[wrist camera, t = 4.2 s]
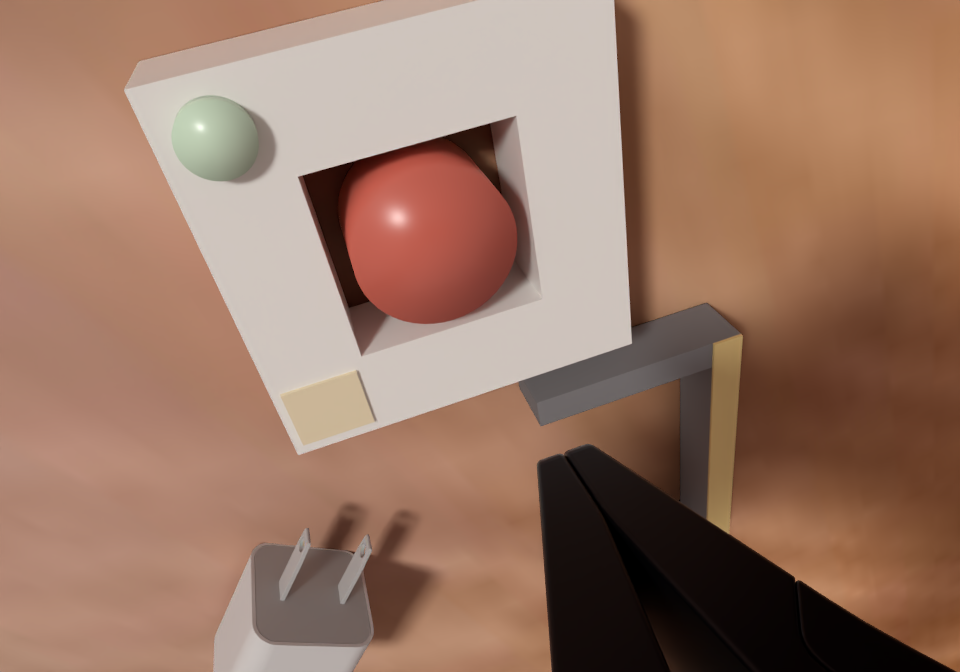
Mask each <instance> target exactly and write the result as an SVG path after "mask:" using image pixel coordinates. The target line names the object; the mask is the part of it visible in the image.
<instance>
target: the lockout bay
mask: <svg viewBox="0 0 960 672" xmlns="http://www.w3.org/2000/svg"><path fill="white" fill-rule="evenodd" d="M631 335H632V344H630V345H627V346H624V347H621V348H618V349H615V350H612V351H609V352H606V353H603V354H600V355H597V356H594V357H591V358H588V359H585V360H582V361H579V362H576V363H573V364H570V365H567V366H564V367H561V368H558V369H555V370H552V371H549V372H546V373H543V374H540V375H537V376H534V377H531V378H528V379H525V380H522V381H519V387H520V390H521V392H522V393H523V395H524V397H525V399H526V401H527V402H528V404H529V406H530V408H531V410H532V411H533V413H534V415H535V417H536V419H537V420H538V422H539V424H540V426H543V425H546V424H549V423H552V422H555V421H558V420H560V419H563V418H566V417H569V416H572V415H575V414H578V413H581V412H584V411H587V410H590V409H592V408H595V407H598V406H601V405H604V404H607V403H610V402H613V401H616V400H619V399H621V398H624V397H627V396H630V395H633V394H636V393H639V392H642V391H645V390H648V389H650V388H653V387H656V386H659V385H662V384H665V383H668V382H671V381H674V380H677V379H679V378H680V501H679V502H681V503H682V504H684V505H685V506H687V507H688V508H690V509H691V510H693V511H694V512H696V513H698V514H699V515H701V516H702V517H704V518H705V519H707V520H708V521H710V522H711V523H713V524H714V525H716V526H717V527H719V528H720V529H722V530H723V531H725V532H727V533H728V534H729V528H730V513H731V499H732V485H733V470H734V456H735V441H736V427H737V413H738V398H739V384H740V370H741V355H742V341H743V335H742V334H741V333H740V332H739V331H737V330H736V329H735V328H734V327H733V326H732V325H731V324H730V323H729V322H727V321H726V320H725V319H724V318H723V317H722V316H721V315H720V314H719V313H718V312H716V311H715V310H714V309H713V308H712V307H711V306H710V305H709V304H708V303H705V304H702V305H699V306H696V307H693V308H689V309H686V310H683V311H680V312H677V313H674V314H671V315H668V316H665V317H662V318H659V319H656V320H653V321H650V322H647V323H644V324H641V325H638V326H635V327H632V328H631Z"/></svg>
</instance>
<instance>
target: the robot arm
mask: <svg viewBox="0 0 960 672" xmlns="http://www.w3.org/2000/svg"><path fill="white" fill-rule="evenodd" d="M537 474H538V488H539V502H540V516H541V529H542V543H543V557H544V571H545V585H546V598H547V612H548V626H549V640H550V653H551V667H552V672H956V671H954V670H952V669H950V668H949V667H947V666H945V665H943V664H941V663H939V662H937V661H935V660H934V659H932V658H930V657H928V656H926V655H924V654H922V653H920V652H919V651H917V650H915V649H913V648H911V647H909V646H908V645H906V644H904V643H902V642H900V641H899V640H897V639H895V638H893V637H891V636H890V635H888V634H886V633H884V632H882V631H881V630H879V629H877V628H875V627H874V626H872V625H870V624H868V623H866V622H865V621H863V620H862V619H860V618H858V617H857V616H855V615H853V614H852V613H850V612H849V611H847V610H845V609H844V608H842V607H841V606H839V605H837V604H836V603H834V602H833V601H831V600H829V599H828V598H826V597H825V596H823V595H822V594H820V593H818V592H817V591H815V590H814V589H812V588H811V587H809V586H808V585H806V584H805V583H803V582H802V581H799V580H798V581H796V583H795V578H794V576H792V575H791V574H789V573H788V572H786V571H785V570H783V569H782V568H780V567H779V566H777V565H775V564H774V563H772V562H771V561H769V560H768V559H766V558H765V557H763V556H762V555H760V554H759V553H757V552H756V551H754V550H753V549H751V548H749V547H748V546H746V545H745V544H743V543H742V542H740V541H739V540H737V539H736V538H734V537H733V536H731V535H730V534H728V533H727V532H725V531H723V530H722V529H720V528H719V527H717V526H716V525H714V524H713V523H711V522H710V521H708V520H707V519H705V518H704V517H702V516H701V515H699V514H698V513H696V512H694V511H693V510H691V509H690V508H688V507H687V506H685V505H684V504H682V503H681V502H679V501H678V500H676V499H675V498H673V497H672V496H670V495H668V494H667V493H665V492H664V491H662V490H661V489H659V488H658V487H656V486H655V485H653V484H652V483H650V482H649V481H647V480H646V479H644V478H642V477H641V476H639V475H638V474H636V473H635V472H633V471H632V470H630V469H629V468H627V467H626V466H624V465H623V464H621V463H620V462H618V461H617V460H615V459H613V458H612V457H610V456H609V455H607V454H606V453H604V452H603V451H601V450H600V449H598V448H597V447H595V446H593V445H591V444H585V445H582V446H579V447H577V448H574V449H571V450H568V451H567V452H565V454H564V455H563V454H556V455H554V456H551V457H548V458H545V459H542V460H540V461H539V462H538V463H537Z"/></svg>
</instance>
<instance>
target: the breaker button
mask: <svg viewBox="0 0 960 672" xmlns="http://www.w3.org/2000/svg"><path fill="white" fill-rule="evenodd" d="M338 216H339V222H340V226H341V230H342V233H343V237H344V240H345V243H346V247H347V250H348V253H349V257H350V260H351V264H352V267H353V270H354V274H355V277H356V279H357V282H358V284H359V286H360V288H361V289H362V291H363V293H364V294H365V296H366V297H367V298H368V299H369V300H370V302H372V303H373V304H374V305H375V306H376V307H377V308H378V309H380V310H381V311H383V312H384V313H386V314H388V315H390V316H392V317H394V318H396V319H399V320H402V321H406V322H411V323H418V324H435V323H442V322H447V321H451V320H454V319H457V318H460V317H462V316H465V315H466V314H468V313H470V312H472V311H474V310H476V309H477V308H479V307H480V306H482V305H483V304H484V303H485V302H487V301H488V300H489V299H490V298H491V297H492V296H493V295H494V294H495V293H496V292H497V291H498V289H499V288H500V287H501V286H502V284H503V283H504V281H505V279H506V278H507V276H508V274H509V272H510V270H511V268H512V265H513V262H514V259H515V255H516V250H517V227H516V223H515V219H514V216H513V213H512V211H511V209H510V207H509V205H508V203H507V202H506V200H505V199H504V198H503V196H502V195H501V194H500V193H499V191H498V190H497V189H496V188H495V187H494V185H493V184H492V183H491V182H490V181H489V179H488V178H487V177H486V176H485V175H484V173H483V172H482V171H481V170H480V169H479V167H478V166H477V165H476V164H475V163H474V161H473V160H472V159H471V158H470V157H469V155H468V154H467V153H466V152H465V151H463V150H462V149H461V148H460V147H458V146H457V145H456V144H454V143H452V142H451V141H449V140H447V139H444V138H442V137H438V138H435V139H431V140H428V141H424V142H420V143H417V144H413V145H410V146H406V147H402V148H399V149H395V150H392V151H388V152H385V153H381V154H377V155H374V156H370V157H367V158H363V159H359V160H356V162H355V163H354V164H353V165H352V167H351V168H350V170H349V171H348V173H347V175H346V177H345V179H344V181H343V184H342V187H341V190H340V194H339V200H338Z"/></svg>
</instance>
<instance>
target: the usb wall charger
mask: <svg viewBox="0 0 960 672" xmlns="http://www.w3.org/2000/svg"><path fill="white" fill-rule="evenodd" d="M310 545H311V543H310V534H309V528H306V529H305V530H304V532H303V533H302V535H301V537H300V539H299V541H298V543H297V545H296V546H294V545H283V544H273V543H262V544H260V545H258V546H256V547H255V548H254V549H253V551H252V553H251V555H250V558H249V560H248V562H247V564H246V567H245V569H244V571H243V574H242V576H241V578H240V580H239V583H238V585H237V587H236V589H235V592H234V594H233V596H232V598H231V601H230V603H229V605H228V608H227V610H226V612H225V614H224V617H223V619H222V621H221V623H220V626H219V628H218V630H217V632H216V635H215V639H214V671H213V672H353V670H354V669H355V667H356V665H357V664H358V662H359V660H360V658H361V657H362V655H363V653H364V652H365V650H366V648H367V646H368V645H369V643H370V641H371V640H372V638H373V635H374V627H373V621H372V616H371V610H370V605H369V599H368V594H367V588H366V583H365V577H364V572H363V569H364V567H365V564H366V562H367V560H368V558H369V556H370V554H371V552H372V547H371V542H370V537H369V535H368V534H367V535H366V536H365V537H364V539H363V540H362V542H361V544H360V545H359V547H358V549H357V550H356V552H355V554H353V553H351V552H349V551H346V550H336V549H325V548H315V547H310ZM365 546H366V550H365V555H364V548H365Z"/></svg>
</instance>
